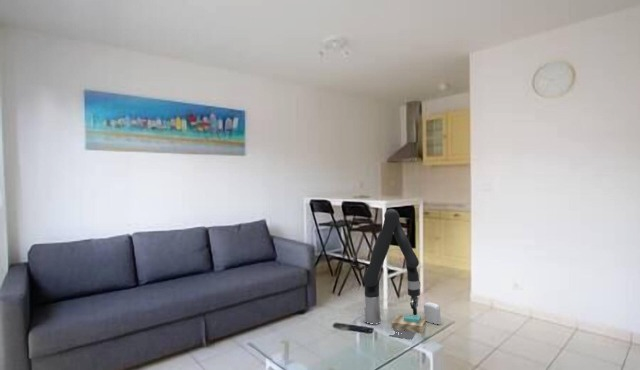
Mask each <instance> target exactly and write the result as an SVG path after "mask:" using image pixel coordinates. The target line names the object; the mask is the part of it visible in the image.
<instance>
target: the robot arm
mask: <svg viewBox="0 0 640 370" xmlns="http://www.w3.org/2000/svg"><path fill="white" fill-rule="evenodd" d="M383 217H384V221H383V224H382V228H381V230H380V232H379V234H378V236H377V238H376V240H375V242H374V245H373V248H372V251H371V256H370V261H369V264H368V266H367V269H366V271H365V273H364V275H363V279H362V281H363V282H364V302H365V303H364V304H365V305H364V306H365V307H364V309H363V310H364V322H365V321H366V322H368V323H373V324H376V323H379V322H382V320H381V306H380V301H381V300H380V281H379V280H380V279H379V278H380V277H379V276H380V275H379V274H380V271H381V269H382V265H383V264H384V261H385V259H386V258H387V255H388V253H389V249H390V246H391V242H392V239H393V235H394V237H395V239H396V242H397V244H398V246H399V250H400V252H401V253H402V255H403V256H404V258H405V266H406V267H405V268H406V273H407V274H406V275H407V276H406V279H407V281H406V282H407V283H406V284H407V295H408V296H410V301H409V302H410V303H409V305H410V308H411V310H412V315H413V316H418V307H419V296H420V295H421V289H420V288H421V285H420V279H419V278H420V276H419V271H418V266H419V264H420V262H419V261H420V260H419V259H418V257H417V255H416V253H415V251H414V250H413V246H412V244H411V242H410V240H409V239H408V237H407V235H406V233H405V231H404V229H403V226H402V224H401V221H400V214H399V212H398V211H397V210H396V209H393V208H389V209H387V210H386V211H385V212H384V216H383ZM368 323H367V324H368ZM379 324H380V323H379ZM376 325H377V324H376Z"/></svg>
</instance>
